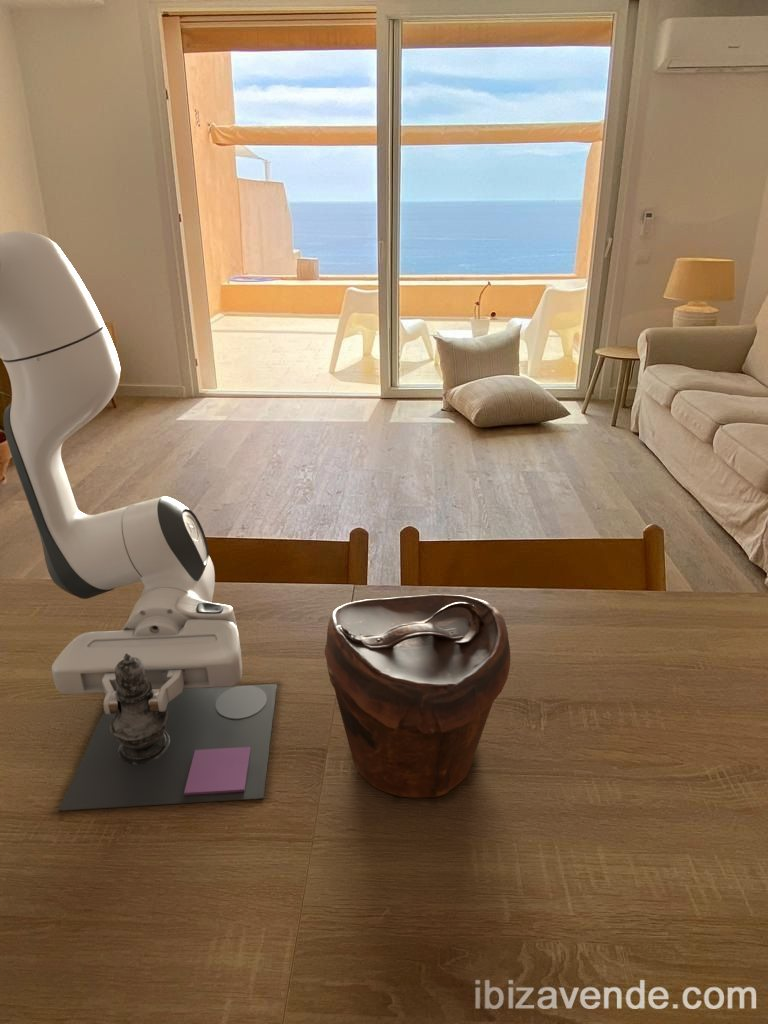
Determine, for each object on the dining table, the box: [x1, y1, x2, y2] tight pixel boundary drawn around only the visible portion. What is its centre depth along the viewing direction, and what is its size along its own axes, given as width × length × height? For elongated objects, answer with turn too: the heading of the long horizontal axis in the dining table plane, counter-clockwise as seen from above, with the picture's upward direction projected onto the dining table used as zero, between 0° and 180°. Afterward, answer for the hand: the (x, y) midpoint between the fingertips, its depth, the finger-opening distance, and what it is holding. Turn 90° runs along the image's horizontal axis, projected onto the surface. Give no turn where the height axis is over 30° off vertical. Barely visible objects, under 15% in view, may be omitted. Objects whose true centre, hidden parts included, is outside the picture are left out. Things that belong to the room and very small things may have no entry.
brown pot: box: [324, 593, 511, 799], centre depth 71 cm, size 18×20×18 cm
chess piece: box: [110, 653, 170, 765], centre depth 72 cm, size 6×6×12 cm
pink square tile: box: [184, 747, 251, 795], centre depth 73 cm, size 6×6×1 cm
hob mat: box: [58, 683, 278, 812], centre depth 77 cm, size 20×18×1 cm
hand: (134, 708), depth 71 cm, fingers closed on chess piece, 3 cm apart
